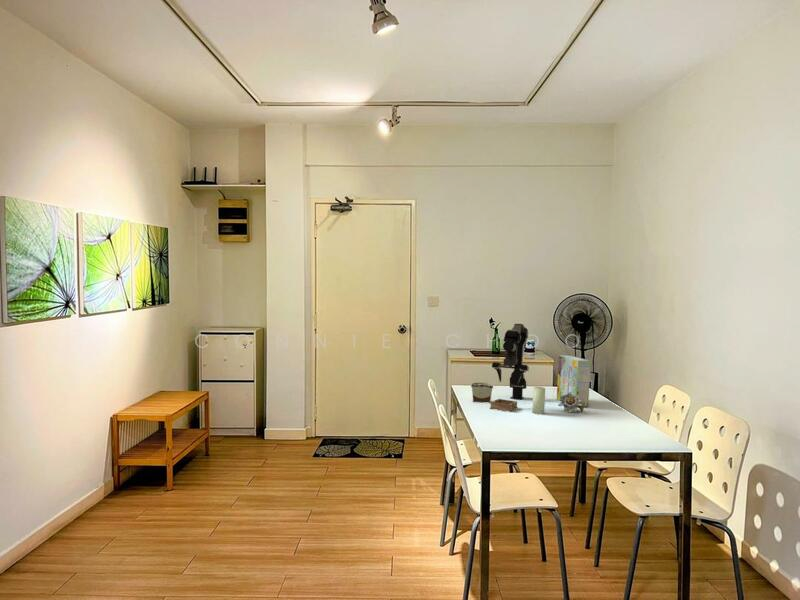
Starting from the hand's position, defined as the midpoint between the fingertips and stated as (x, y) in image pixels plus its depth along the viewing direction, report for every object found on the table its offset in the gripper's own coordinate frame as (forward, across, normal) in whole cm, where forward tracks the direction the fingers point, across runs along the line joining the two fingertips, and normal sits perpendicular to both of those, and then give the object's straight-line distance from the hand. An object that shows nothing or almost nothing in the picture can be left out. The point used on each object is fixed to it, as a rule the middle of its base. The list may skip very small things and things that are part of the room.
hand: (508, 382), depth 304 cm
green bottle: (+14, +16, -1) cm, 21 cm away
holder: (+14, -2, +1) cm, 14 cm away
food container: (+11, -17, +13) cm, 24 cm away
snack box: (+7, +30, +34) cm, 46 cm away
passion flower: (+11, +31, +12) cm, 35 cm away
